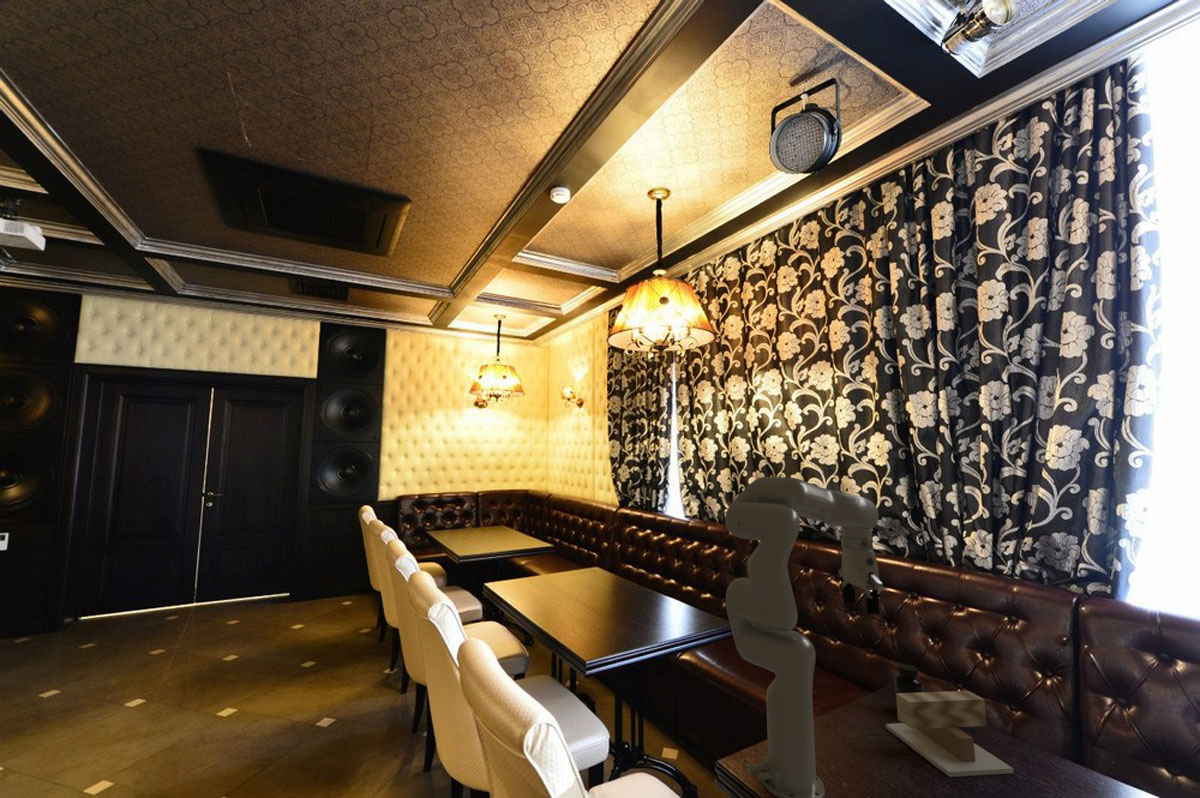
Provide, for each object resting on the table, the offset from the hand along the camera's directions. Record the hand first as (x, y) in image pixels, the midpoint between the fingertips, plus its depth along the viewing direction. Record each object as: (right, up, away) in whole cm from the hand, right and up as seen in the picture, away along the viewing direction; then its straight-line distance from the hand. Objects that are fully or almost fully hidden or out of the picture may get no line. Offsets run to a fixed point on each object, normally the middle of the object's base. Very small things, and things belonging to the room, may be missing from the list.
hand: (861, 608), depth 128 cm
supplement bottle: (+17, -32, +4) cm, 36 cm away
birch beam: (+13, -23, -12) cm, 29 cm away
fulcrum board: (+13, -29, -13) cm, 34 cm away
